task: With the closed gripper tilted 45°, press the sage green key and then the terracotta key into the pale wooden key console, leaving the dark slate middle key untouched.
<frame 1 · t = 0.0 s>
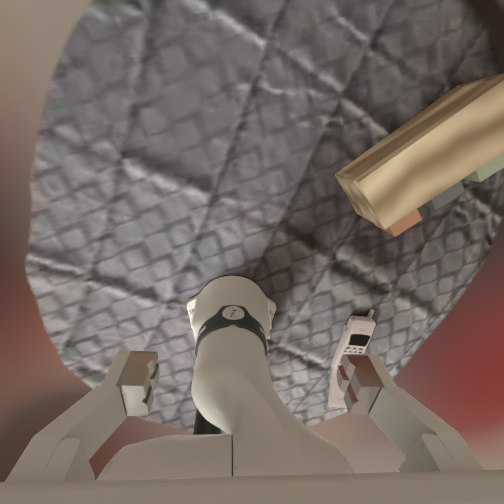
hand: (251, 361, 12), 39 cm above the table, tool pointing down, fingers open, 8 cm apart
key console: (413, 175, 48), on the table
sage key: (470, 152, 43), point 4 cm above the table, slide at 0.0 cm
wine bottle: (211, 391, 66), on the table
slate key: (428, 180, 45), point 4 cm above the table, slide at 0.0 cm
terracotta key: (388, 207, 46), point 4 cm above the table, slide at 0.0 cm
mobile phone: (345, 349, 64), on the table
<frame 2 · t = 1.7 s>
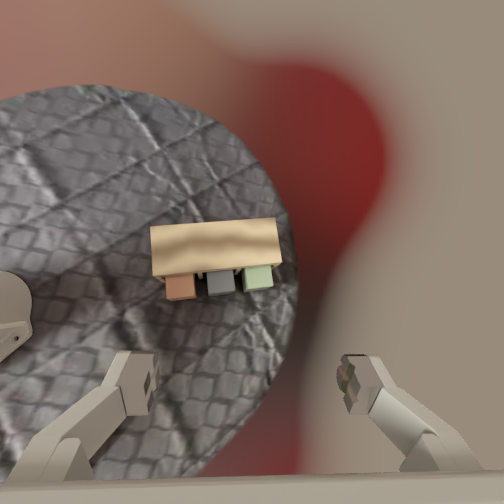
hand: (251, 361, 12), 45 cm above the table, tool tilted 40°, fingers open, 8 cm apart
key console: (218, 276, 57), on the table
sage key: (255, 272, 55), point 4 cm above the table, slide at 0.0 cm
slate key: (219, 276, 53), point 4 cm above the table, slide at 0.0 cm
terracotta key: (181, 280, 52), point 4 cm above the table, slide at 0.0 cm
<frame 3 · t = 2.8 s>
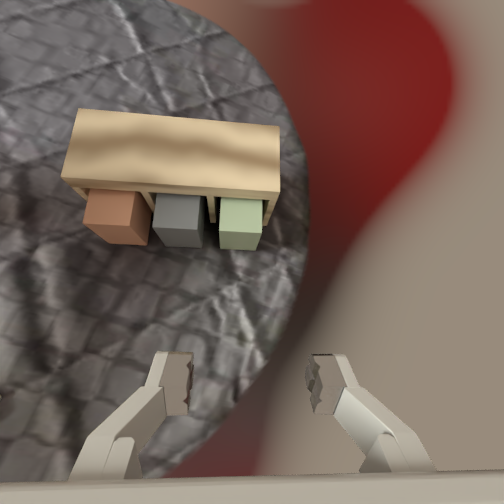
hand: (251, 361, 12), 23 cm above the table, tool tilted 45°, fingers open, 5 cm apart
key console: (187, 221, 38), on the table
sage key: (240, 216, 35), point 4 cm above the table, slide at 0.0 cm
slate key: (182, 213, 34), point 4 cm above the table, slide at 0.0 cm
terracotta key: (122, 209, 34), point 4 cm above the table, slide at 0.0 cm
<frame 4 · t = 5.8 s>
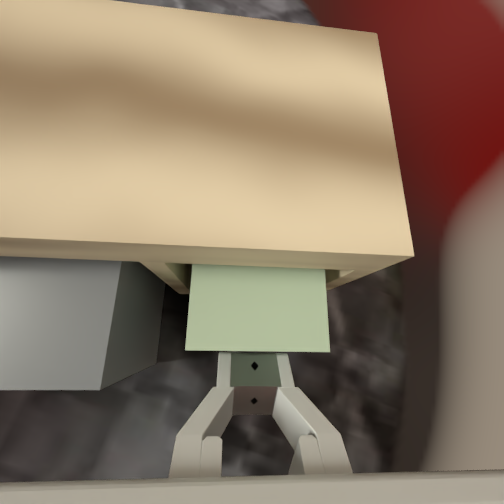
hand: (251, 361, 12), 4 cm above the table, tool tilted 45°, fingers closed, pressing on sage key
key console: (123, 292, 16), on the table
sage key: (251, 272, 13), point 4 cm above the table, slide at 1.2 cm, touching gripper
slate key: (92, 291, 12), point 4 cm above the table, slide at 0.0 cm
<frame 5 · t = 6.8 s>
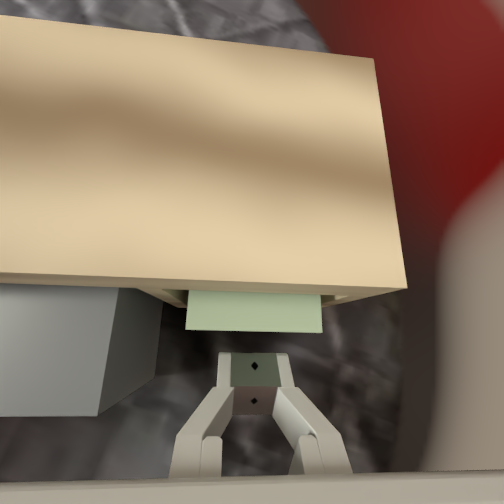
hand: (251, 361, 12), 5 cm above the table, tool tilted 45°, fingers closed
key console: (122, 305, 16), on the table
sage key: (249, 261, 14), point 4 cm above the table, slide at 2.7 cm
slate key: (90, 309, 12), point 4 cm above the table, slide at 0.0 cm
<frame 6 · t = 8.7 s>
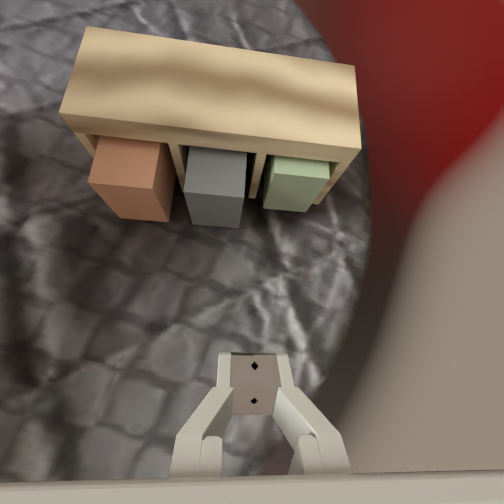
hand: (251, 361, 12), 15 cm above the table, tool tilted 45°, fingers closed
key console: (219, 194, 30), on the table
sage key: (292, 165, 28), point 4 cm above the table, slide at 2.7 cm
slate key: (218, 180, 26), point 4 cm above the table, slide at 0.0 cm
terracotta key: (140, 172, 25), point 4 cm above the table, slide at 0.0 cm
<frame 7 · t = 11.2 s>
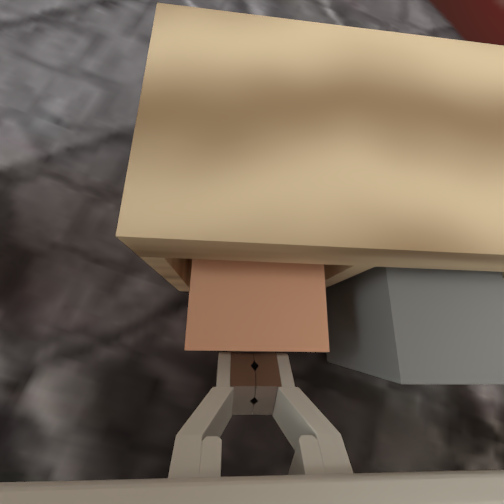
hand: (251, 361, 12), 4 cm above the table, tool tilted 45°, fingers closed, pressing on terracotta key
key console: (357, 296, 17), on the table
slate key: (393, 297, 14), point 4 cm above the table, slide at 0.0 cm
terracotta key: (251, 272, 13), point 4 cm above the table, slide at 1.0 cm, touching gripper
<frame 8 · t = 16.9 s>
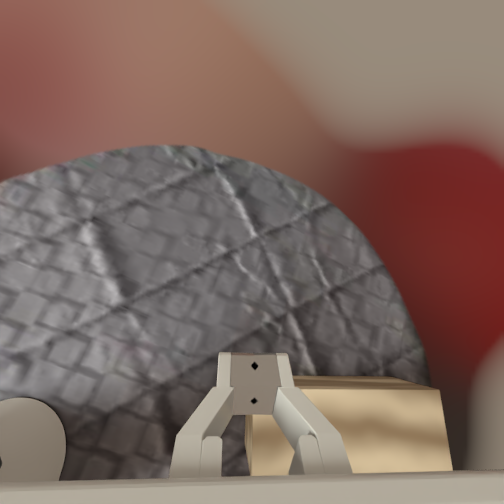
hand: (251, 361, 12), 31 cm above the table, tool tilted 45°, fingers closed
key console: (323, 442, 39), on the table
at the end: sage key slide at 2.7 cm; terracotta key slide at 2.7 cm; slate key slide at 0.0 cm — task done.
